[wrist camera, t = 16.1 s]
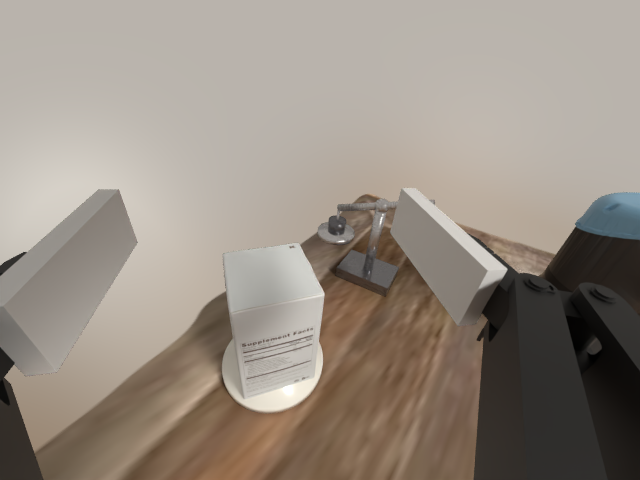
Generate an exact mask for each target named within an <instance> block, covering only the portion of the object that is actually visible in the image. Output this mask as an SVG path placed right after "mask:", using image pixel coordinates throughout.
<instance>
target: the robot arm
mask: <svg viewBox="0 0 640 480" xmlns="http://www.w3.org/2000/svg"><path fill="white" fill-rule="evenodd" d="M575 225H576V227H575V228H574V230H573V231H572V233H571V234H570V236H569V237H568V238H567V240H566V241H565V243H564V244H563V246H562V247H561V248H560V250H559V251H558V253H557V254H556V255H555V257H554V258H553V260H552V261H551V262H550V264H549V265H548V267H547V268H546V270H545V271H544V272H543V273H542V274H541V275H539V276H536V275H532V274H528V273H520V274H519V273H518V272H516V271H515V270H514V269H513V268H512V267H511V266H509V265H508V264H507V263H506V262H505V261H504V260H502V259H501V258H500V257H499V256H498V255H497V254H494V252H493V251H492V250H491V249H490V248H487V246H486V245H485V244H484V243H483V242H481V241H480V240H479V239H477V238H476V237H474V236H472V235H470V234H468V233H466V232H465V231H463V230H462V229H461V228H460V227H459V226H458V225H457V224H455V223H454V222H453V221H452V220H451V219H450V218H449V217H447V216H446V215H445V214H444V213H443V212H442V211H441V210H439V209H438V208H437V207H436V206H435V205H434V204H433V203H431V202H430V201H429V200H428V199H427V198H426V197H425V196H423V195H422V194H421V193H420V192H419V191H418V190H417V189H415V188H402V189H401V192H400V196H399V200H398V204H397V208H396V212H395V216H394V220H393V223H392V227H391V231H390V233H391V235H392V236H393V237H394V239H395V240H396V242H397V243H398V244H399V246H400V247H401V248H402V250H403V251H404V253H405V254H406V255H407V257H408V258H409V259H410V261H411V262H412V264H413V265H414V266H415V268H416V269H417V270H418V272H419V273H420V275H421V276H422V277H423V279H424V280H425V281H426V283H427V284H428V286H429V287H430V288H431V290H432V291H433V292H434V294H435V295H436V297H437V298H438V299H439V301H440V302H441V303H442V305H443V306H444V308H445V309H446V310H447V312H448V313H449V314H450V316H451V317H452V319H453V320H454V321H455V323H456V324H457V325H458V326H464V325H472V324H476V322H477V321H478V319H479V317H480V316H481V314H482V313H483V314H484V316H485V317H486V318H487V319H488V321H487V323H486V325H485V326H484V328H483V329H482V331H481V333H480V334H479V336H478V338H477V341H480V340H481V338H483V337H484V341H483V355H482V369H481V383H480V397H479V412H478V426H477V440H476V454H475V468H474V480H640V193H627V192H626V193H614V194H609V195H605V196H602V197H600V198H598V199H597V200H596V201H595V202H593V203H592V205H591V206H590V207H589V209H588V210H587V211H586V213H585V214H584V215H583V216H582V217H581V218H580V219H578V220H577V222H576V223H575ZM136 244H137V239H136V237H135V234H134V231H133V229H132V226H131V223H130V220H129V217H128V214H127V211H126V208H125V206H124V203H123V200H122V197H121V194H120V191H119V190H97V191H96V192H95V193H94V194H93V195H92V196H91V197H89V198H88V199H87V200H86V201H85V202H84V203H83V204H82V205H80V206H79V207H78V208H77V209H76V210H75V211H74V212H72V213H71V214H70V215H69V216H68V217H67V218H66V219H65V220H63V221H62V222H61V223H60V224H59V225H58V226H57V227H56V228H54V229H53V230H52V231H51V232H50V233H49V234H48V235H47V236H45V237H44V238H43V239H42V240H41V241H40V242H38V243H37V244H36V245H35V246H34V247H33V248H32V249H31V250H29V251H28V252H23V253H21V254H19V255H17V256H15V257H13V258H12V259H10V260H8V261H6V262H4V263H3V264H2V265H1V266H0V480H43V477H42V474H41V471H40V468H39V466H38V463H37V460H36V457H35V454H34V451H33V448H32V445H31V442H30V439H29V436H28V434H27V431H26V428H25V424H24V422H23V419H22V416H21V413H20V410H19V407H18V404H17V401H16V398H15V395H14V392H13V389H12V386H11V384H10V383H9V382H8V381H7V380H6V379H5V378H4V377H5V375H6V374H7V373H8V371H9V370H10V369H11V367H12V366H13V365H15V366H16V367H17V368H18V369H19V370H20V371H21V372H22V373H23V374H24V375H25V376H33V375H41V374H50V373H57V372H58V370H59V369H60V367H61V365H62V364H63V362H64V360H65V359H66V357H67V356H68V354H69V352H70V351H71V349H72V348H73V346H74V344H75V343H76V341H77V339H78V338H79V336H80V334H81V333H82V331H83V330H84V328H85V327H86V325H87V323H88V322H89V320H90V318H91V317H92V315H93V314H94V312H95V310H96V309H97V307H98V305H99V304H100V302H101V301H102V299H103V298H104V296H105V294H106V293H107V291H108V289H109V288H110V286H111V285H112V283H113V281H114V280H115V278H116V277H117V275H118V273H119V272H120V270H121V269H122V267H123V265H124V263H125V262H126V260H127V259H128V257H129V255H130V254H131V252H132V251H133V249H134V247H135V246H136Z"/></svg>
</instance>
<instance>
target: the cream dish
mask: <svg viewBox="0 0 640 480" xmlns="http://www.w3.org/2000/svg"><path fill="white" fill-rule="evenodd" d="M322 366H323V353H322V349H321V346H320V343H318V351H317V359H316V367H315V376H314V378H312V379H309V380H305V381H302V382H299V383H296V384H293V385H290V386H287V387H283V388H280V389H277V390H274V391H271V392H268V393H264V394H261V395H258V396H255V397H252V398H249V399H244V398H243V394H242V387H241V381H240V376H239V370H238V364H237V359H236V353H235V347H234V341H233V339H232V340H231V342H230V343H229V345H228V346H227V348H226V350H225V353H224V356H223V360H222V375H223V379H224V384H225V386H226V389H227V391H228V393H229V394H230V396H231V397H232V398H233V399H234V401H236V402H237V403H238V404H239V405H241V406H242V407H244V408H246V409H248V410H250V411H253V412H257V413H265V414H271V413H279V412H283V411H286V410H289V409H291V408H293V407H295V406H297V405H298V404H300V403H302V402H303V401H304V400H305V399H306V398H307V397H308V396H309V395H310V394H311V393H312V392H313V390H314V389H315V387H316V386H317V384H318V382H319V379H320V376H321V372H322Z"/></svg>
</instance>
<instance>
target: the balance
mask: <svg viewBox="0 0 640 480" xmlns="http://www.w3.org/2000/svg"><path fill="white" fill-rule="evenodd" d="M429 201H430V202H431V203H433V204H434V205H435V200H429ZM397 204H398V202H388V201H387V200H386V199H379V200H377V201H376V203H359V204H339V205H338V207H337V208H338V212H337V216H331V217H330V218H329V222H326V223H323V224H321V225H320V226H319V227H318V232H317V234H318V237H319V238H320V239H321V240H322V241H324V242H326V243H329V244H333V245H344V244H348V243H350V242H351V241H352V240H353V239H354V234H355V232H354V230H353V228H352V227H350V226H349V225H347V224H346V219H345V218H344V217H341V216H339V213H340V211H360V210H375V215H374V219H373V224H372V229H371V234H370V238H369V243H368V248H367V253H366V255H365V254H362V253H359V252H357V251H354V250H351V251H350V252H349V253H348V255H347V256H346V257H345V258H344V259H343V261H342V262H341V263H340V264H339V265H338V267H337V268H336V276H337V277H340V278H342V279H345V280H347V281H349V282H352V283H354V284H356V285H359V286H361V287H364V288H366V289H368V290H371V291H373V292H375V293H378V294H380V295H383V296H385V297H386V295H387V293H388V291H389V289H390V287H391V285H392V283H393V281H394V279H395V277H396V275H397V272H398V269H399V267H397V266H394V265H392V264H389V263H386V262H384V261H381V260H378V259H375V258H376V254H377V249H378V245H379V241H380V237H381V233H382V228H383V224H384V220H385V216H386V212H387V211H388V210H389V209H396V208H397Z"/></svg>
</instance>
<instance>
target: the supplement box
mask: <svg viewBox="0 0 640 480" xmlns="http://www.w3.org/2000/svg"><path fill="white" fill-rule="evenodd" d="M223 265H224V276H225V286H226V295H227V302H228V309H229V315H230V322H231V328H232V335H233V341H234V347H235V353H236V359H237V364H238V370H239V376H240V381H241V387H242V394H243V398H244V399H249V398H252V397H255V396H258V395H261V394H264V393H268V392H271V391H274V390H277V389H280V388H283V387H287V386H290V385H293V384H296V383H299V382H302V381H305V380H309V379H312V378H314V376H315V367H316V359H317V351H318V343H319V335H320V327H321V319H322V311H323V303H324V291H323V289H322V287H321V286H320V284H319V282H318V280H317V278H316V276H315V274H314V272H313V270H312V266H311V264H310V263H309V261H308V260H307V258H306V256H305V254H304V252H303V250H302V248H301V246H300V244H299V243H291V244H285V245H279V246H272V247H264V248H257V249H248V250H239V251H233V252H227V253H223Z"/></svg>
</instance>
